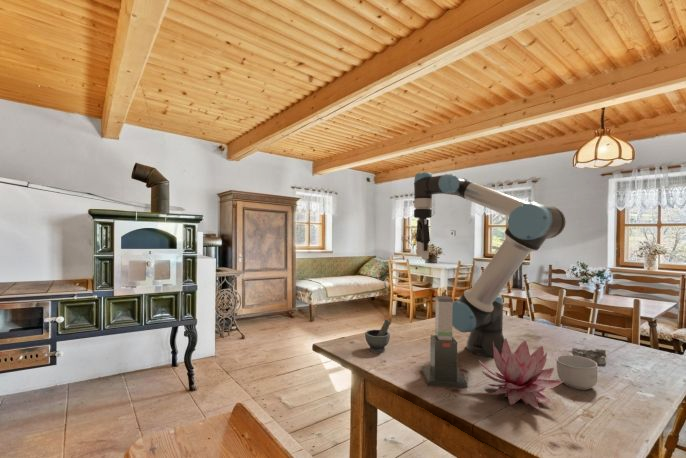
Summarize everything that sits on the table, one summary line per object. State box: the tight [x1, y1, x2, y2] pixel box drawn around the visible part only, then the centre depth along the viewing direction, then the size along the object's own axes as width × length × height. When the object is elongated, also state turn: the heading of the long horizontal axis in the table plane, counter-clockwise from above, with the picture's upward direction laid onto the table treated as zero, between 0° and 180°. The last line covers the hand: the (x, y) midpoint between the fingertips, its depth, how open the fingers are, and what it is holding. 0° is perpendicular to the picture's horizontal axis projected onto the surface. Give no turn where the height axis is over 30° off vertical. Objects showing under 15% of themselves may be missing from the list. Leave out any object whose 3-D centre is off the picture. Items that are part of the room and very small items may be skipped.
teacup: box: [555, 353, 599, 391], centre depth 108 cm, size 14×11×8 cm
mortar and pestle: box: [364, 318, 392, 354], centre depth 136 cm, size 11×9×12 cm
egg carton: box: [571, 347, 608, 365], centre depth 129 cm, size 11×8×4 cm
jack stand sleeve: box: [420, 334, 468, 388], centre depth 111 cm, size 12×12×13 cm
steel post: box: [434, 295, 454, 341], centre depth 111 cm, size 4×4×20 cm
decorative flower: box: [479, 338, 564, 409], centre depth 98 cm, size 21×21×15 cm
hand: (422, 257), depth 147 cm, fingers open, 13 cm apart
